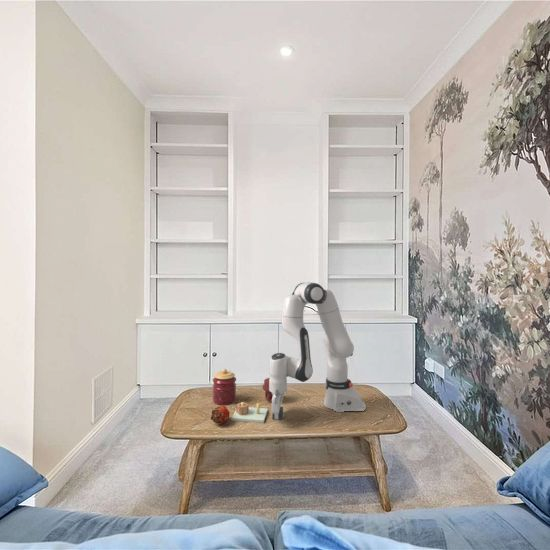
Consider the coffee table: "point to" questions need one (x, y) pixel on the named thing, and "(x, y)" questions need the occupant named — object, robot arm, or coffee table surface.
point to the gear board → (249, 413)
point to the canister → (224, 387)
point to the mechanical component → (267, 390)
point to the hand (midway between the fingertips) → (277, 414)
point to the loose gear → (279, 414)
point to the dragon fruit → (220, 414)
